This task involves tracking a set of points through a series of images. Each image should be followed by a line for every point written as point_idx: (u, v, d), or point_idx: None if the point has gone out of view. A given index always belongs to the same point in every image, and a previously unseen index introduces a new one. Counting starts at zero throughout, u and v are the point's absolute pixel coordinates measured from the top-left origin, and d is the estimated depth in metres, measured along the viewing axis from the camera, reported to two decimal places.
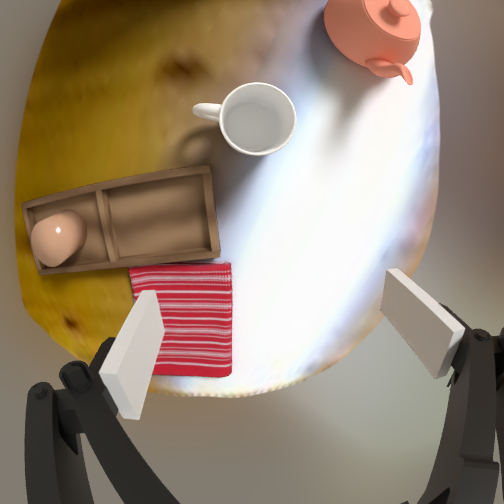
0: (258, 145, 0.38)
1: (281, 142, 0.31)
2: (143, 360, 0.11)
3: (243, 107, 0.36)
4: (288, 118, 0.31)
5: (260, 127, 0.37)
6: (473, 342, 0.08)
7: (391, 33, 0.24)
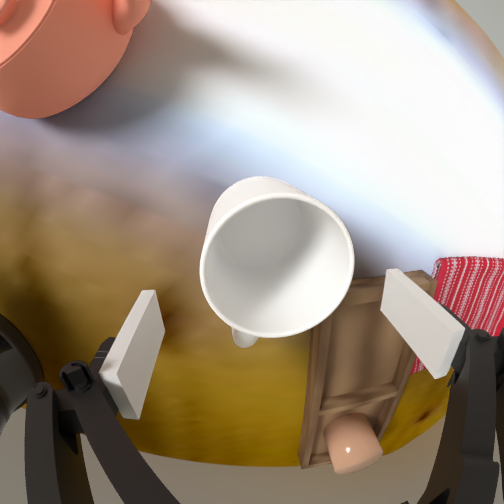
0: (292, 214, 0.24)
1: (322, 212, 0.16)
2: (143, 360, 0.11)
3: (227, 237, 0.24)
4: None
5: (262, 210, 0.24)
6: (473, 342, 0.08)
7: (49, 1, 0.08)
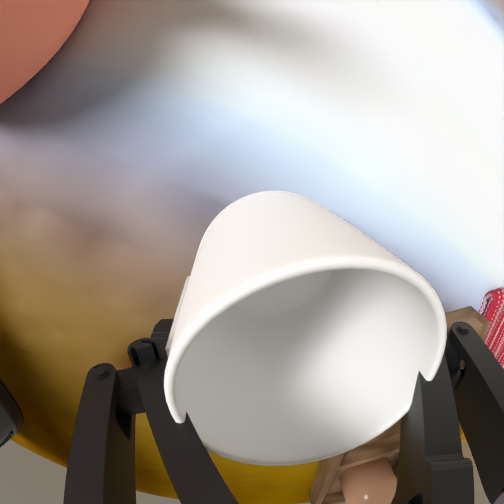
0: None
1: None
2: None
3: None
4: None
5: None
6: None
7: None
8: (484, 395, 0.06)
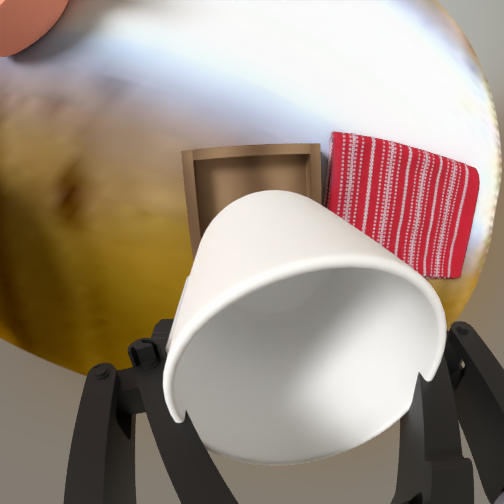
0: None
1: None
2: None
3: None
4: None
5: None
6: None
7: None
8: (484, 395, 0.06)
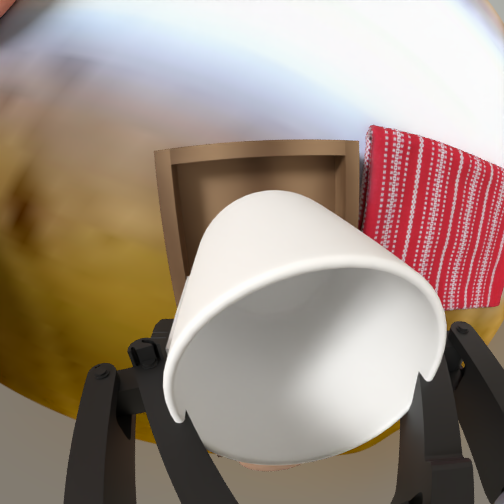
0: None
1: None
2: None
3: None
4: None
5: None
6: None
7: None
8: (484, 394, 0.06)
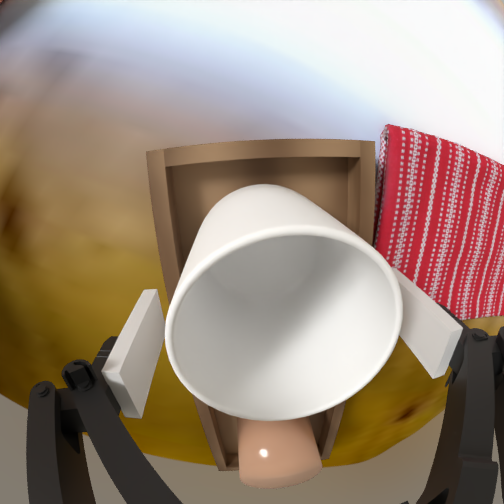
0: (306, 234, 0.18)
1: None
2: (145, 359, 0.11)
3: (220, 264, 0.18)
4: None
5: None
6: (471, 341, 0.08)
7: None
8: None
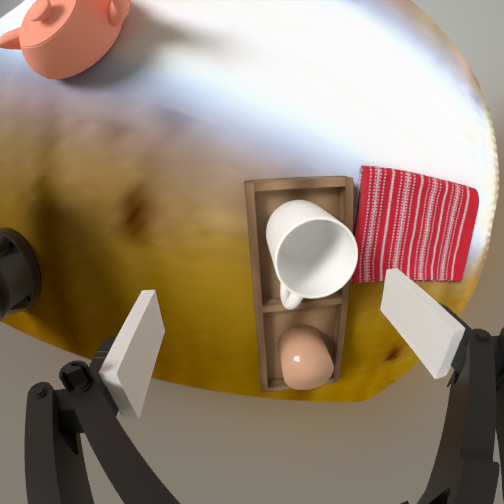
0: (319, 224, 0.36)
1: (340, 226, 0.27)
2: (143, 360, 0.11)
3: None
4: None
5: None
6: (473, 342, 0.08)
7: (72, 7, 0.16)
8: None
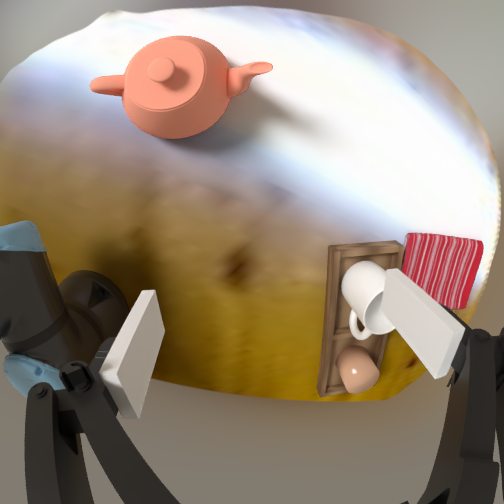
0: None
1: None
2: (143, 360, 0.11)
3: None
4: None
5: None
6: (473, 342, 0.08)
7: (200, 78, 0.27)
8: None
